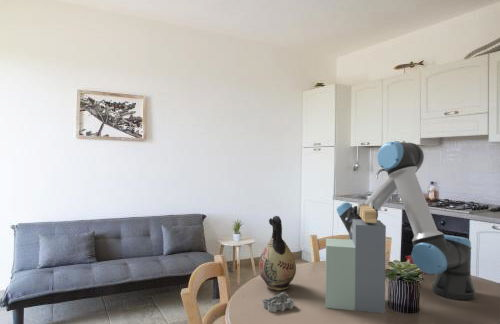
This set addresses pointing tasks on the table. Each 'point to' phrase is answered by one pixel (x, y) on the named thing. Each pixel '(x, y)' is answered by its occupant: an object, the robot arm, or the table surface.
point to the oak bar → (368, 213)
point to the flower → (409, 259)
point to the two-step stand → (357, 269)
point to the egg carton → (278, 302)
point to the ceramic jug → (277, 260)
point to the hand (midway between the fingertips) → (365, 204)
